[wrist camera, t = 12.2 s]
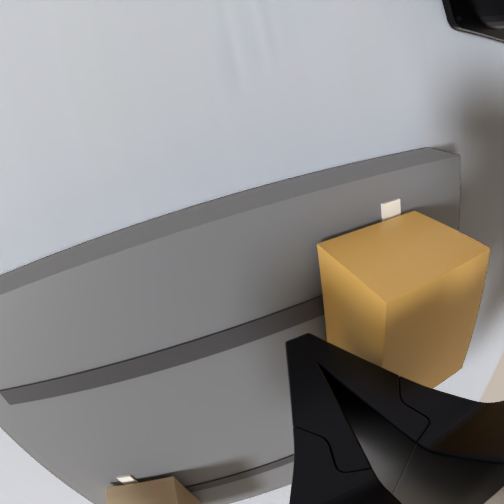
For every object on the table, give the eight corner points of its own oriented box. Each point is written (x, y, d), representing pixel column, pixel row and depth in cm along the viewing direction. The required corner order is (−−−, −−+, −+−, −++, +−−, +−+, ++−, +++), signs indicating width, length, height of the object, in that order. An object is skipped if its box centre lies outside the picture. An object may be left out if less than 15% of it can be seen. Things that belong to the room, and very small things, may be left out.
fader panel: (426, 147, 12) (461, 155, 10) (404, 402, 20) (420, 420, 18) (-57, 301, 9) (-79, 328, 7) (121, 499, 17) (124, 523, 15)
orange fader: (414, 210, 10) (490, 248, 7) (408, 320, 12) (461, 368, 9) (316, 243, 10) (386, 302, 7) (328, 358, 12) (374, 423, 9)
